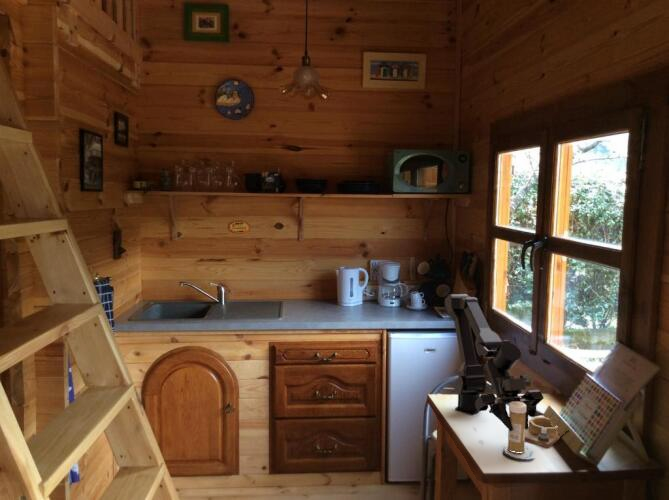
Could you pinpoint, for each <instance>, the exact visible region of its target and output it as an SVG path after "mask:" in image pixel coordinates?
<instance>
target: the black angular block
mask: <svg viewBox="0 0 669 500" xmlns="http://www.w3.org/2000/svg"><path fill="white" fill-rule="evenodd" d="M543 414H544V413H542V412H541V411H540V410H539V411H538V410H537V405H536V406H534V407H529V410H528V417H530V418H533V417H542V416H544V415H543Z"/></svg>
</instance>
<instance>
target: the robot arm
mask: <svg viewBox="0 0 669 500" xmlns="http://www.w3.org/2000/svg"><path fill="white" fill-rule="evenodd" d="M444 306H445V308H446V310H447V314H448V316H449V317H450V318H451V319H452V320H453V323H454V327H455V334H456V340H457V345H458V351H459V356H460V362H461V363H460V364H461V365H460V367H459V369H458V372H457V374H458V377H457V379H456V380H455V381H454V383H453V389H454V391H455V392H456V393H458V394H457V406H456V407H455V408H454V409H455V411H458V412H462V413H466V414H469V415H471V416H473V415H474V414H476V413H478V412H482V411H483V412H484V411H488V413H490V414H493V415H494V416H495V417H496V418H497V419H498V420H499V421H500V422H501V423H503V425H504V426H505V427H506V428H507V429H508V430H510V431H512V430H513V427H512V424H511V421H510V418H509V413H508V411H507V404H508V405H509V403H510V402H513V401H518V402H522V403H524V404H526V413H525V429H526V430H527V429H528V427H529V415H528V410H529V407H534V406H536V407H537V405H539V404H540V402H542V400H544V395H543V393H542V391H540V390H539V389H534V390H527V387H531V386H532V383H531V382H532V381H531V379H530V376H529V374H521V375H519V377H518V378H516V377H515V376H514V375H511V372H510V370H511V369H512V368H513V367H514V366H515V365H516V363H517V362H518V361H519V360H520V358H521V356H522V352H521V350H520V349H519V347H518V346H516V345H515V344H513V343H511V341H510V340H509V339H508V340H507V339H505V340H503V339H501V338H500V336H499V335H498V334H497V333H496V332H495V331H493V330H492V329H491V328H490V326H489V323H488V322H487V319H486V318H485V315H484V313H483V311H482V310H481V306H480V305H479V299H478V298H477V297H475V296H470V295H468V294H467V293H454V294H453V293H450V294H448V295H447V297H445V299H444ZM471 329H472V330H471ZM472 331H473V333H474V335H475V343H474V341H473V335H472ZM474 346H475V347H474ZM476 353H477V355H478V356H479V358H480V359H489V360H488V361H487V360H486V362H485V364H484V365H483V364H479V362H478V361H477V357H476ZM485 371H487V372H488V376H489V378H490V382H491V385H490V389H492V390H494V393H495V394H494V393H492V392H491V393H485V391H486V386H487V382H488V380H487V377H486V376H487V375H486V373H485ZM522 390H527V391H526V392H525V393H523V394H522V395H519V394H521V393H522ZM488 408H490V409H489V410H488Z"/></svg>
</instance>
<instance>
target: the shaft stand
mask: <svg viewBox="0 0 669 500" xmlns="http://www.w3.org/2000/svg"><path fill="white" fill-rule="evenodd" d="M550 419H551V418H550ZM550 419H549V417H546V416H545V417H544V416H536V417H531V418H530V419H528V429H527V430H526V429H525V440H524V442H529V443H532V444H535V445H538V446H540V447H544V448H548V449H549V448H550V447H551V446H552V445H553V444H555V443H556V442H557V441H558V440H559V439H560V436H559V435H558V426H557V425H556V426H555V427H553V426H552V425H551V423H550V422H551V421H550Z"/></svg>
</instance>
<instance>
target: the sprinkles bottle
mask: <svg viewBox="0 0 669 500" xmlns="http://www.w3.org/2000/svg"><path fill="white" fill-rule="evenodd" d="M508 410H509V411H508V412H509V413H508V416H509V418H510V421H511V424H512V427H513V430H512V431H510V430H509V429H508V432H507V433H508V434H507V436H508V437H507V438H508V439H507V440H508V441H507V450H508V449H509V450H511V451H515V452H523V451H524V452H525V413H526V404H524V403H522V402H518V401H513V402H510V403H509V404H508ZM509 450H508V451H509ZM524 452H523V453H524Z"/></svg>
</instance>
